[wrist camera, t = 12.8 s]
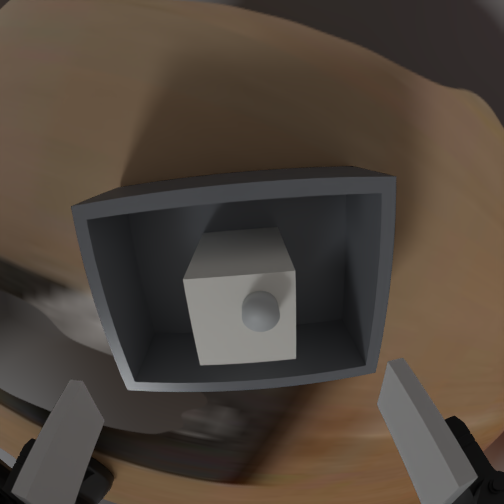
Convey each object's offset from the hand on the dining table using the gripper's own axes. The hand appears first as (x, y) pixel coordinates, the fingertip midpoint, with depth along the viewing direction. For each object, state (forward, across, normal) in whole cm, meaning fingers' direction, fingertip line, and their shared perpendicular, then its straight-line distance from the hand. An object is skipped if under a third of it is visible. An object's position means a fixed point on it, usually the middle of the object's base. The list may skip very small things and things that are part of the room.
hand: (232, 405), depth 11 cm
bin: (+16, 0, 0) cm, 16 cm away
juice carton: (+15, +1, 0) cm, 15 cm away
